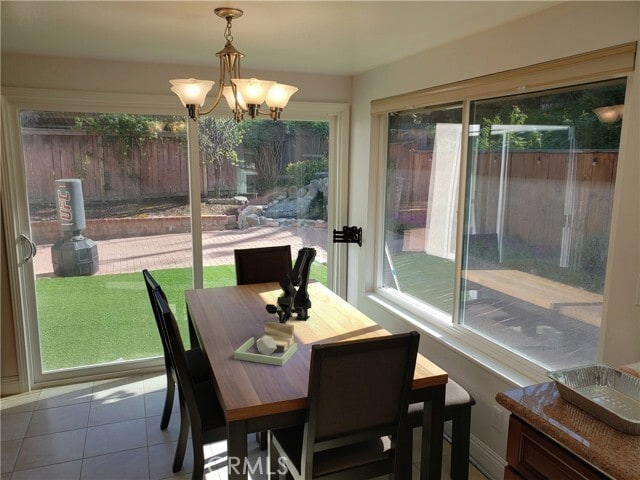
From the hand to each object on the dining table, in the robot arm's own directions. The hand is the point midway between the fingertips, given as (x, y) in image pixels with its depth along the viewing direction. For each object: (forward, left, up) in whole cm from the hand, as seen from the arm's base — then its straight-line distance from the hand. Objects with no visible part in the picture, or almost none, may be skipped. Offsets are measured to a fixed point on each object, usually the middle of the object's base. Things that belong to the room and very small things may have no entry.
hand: (280, 326), depth 224 cm
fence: (+17, 0, -7) cm, 18 cm away
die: (+17, 0, -7) cm, 18 cm away
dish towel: (-55, -15, -7) cm, 58 cm away
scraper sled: (+6, 0, -7) cm, 9 cm away
